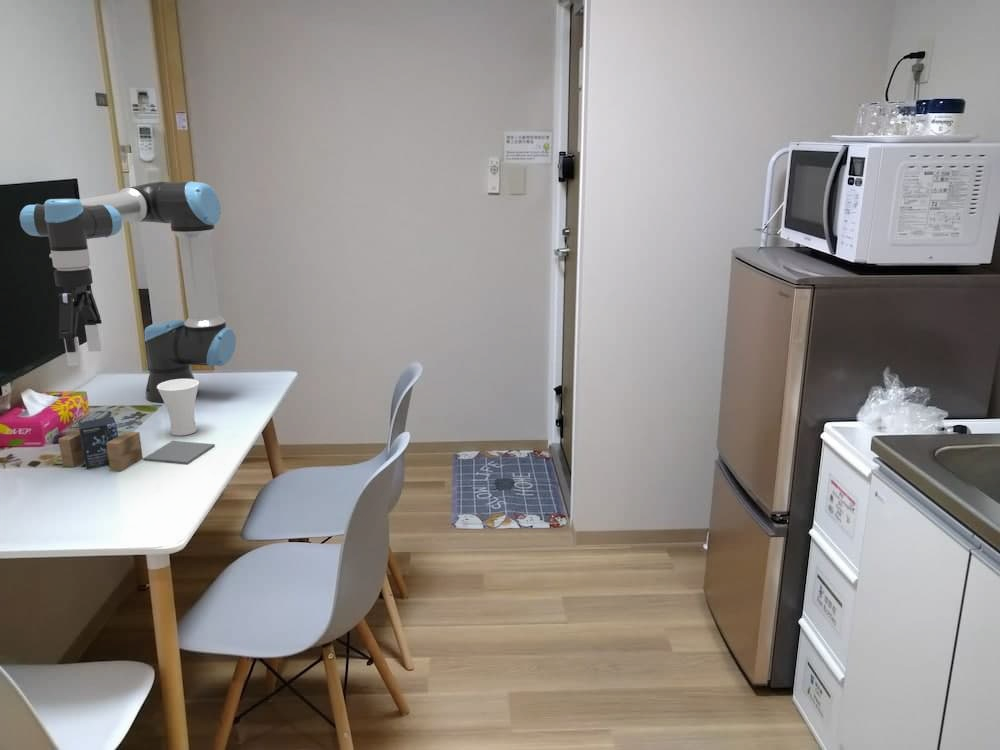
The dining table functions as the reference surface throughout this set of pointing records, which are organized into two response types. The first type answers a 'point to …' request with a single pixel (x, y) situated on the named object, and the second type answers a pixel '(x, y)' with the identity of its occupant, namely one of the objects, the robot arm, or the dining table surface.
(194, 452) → the mat
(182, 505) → the dining table surface
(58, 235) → the robot arm
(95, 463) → the box
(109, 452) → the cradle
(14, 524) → the dining table surface
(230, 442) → the dining table surface
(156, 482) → the dining table surface
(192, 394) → the cup
